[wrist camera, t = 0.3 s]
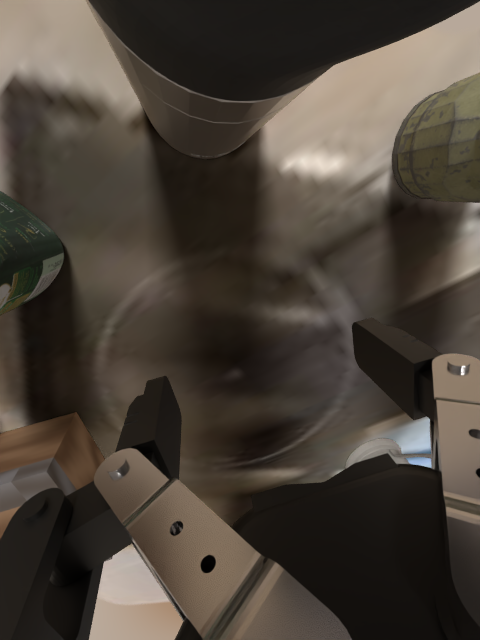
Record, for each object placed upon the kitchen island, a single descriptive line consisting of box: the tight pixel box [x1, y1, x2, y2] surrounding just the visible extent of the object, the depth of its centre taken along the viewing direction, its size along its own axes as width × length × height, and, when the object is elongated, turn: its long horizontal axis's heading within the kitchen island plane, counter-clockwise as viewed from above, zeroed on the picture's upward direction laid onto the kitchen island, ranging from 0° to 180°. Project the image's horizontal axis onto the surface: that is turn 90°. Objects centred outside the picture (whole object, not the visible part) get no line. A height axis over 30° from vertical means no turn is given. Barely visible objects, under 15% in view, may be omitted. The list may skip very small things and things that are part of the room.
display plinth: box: [0, 412, 112, 561], centre depth 31 cm, size 14×14×8 cm
